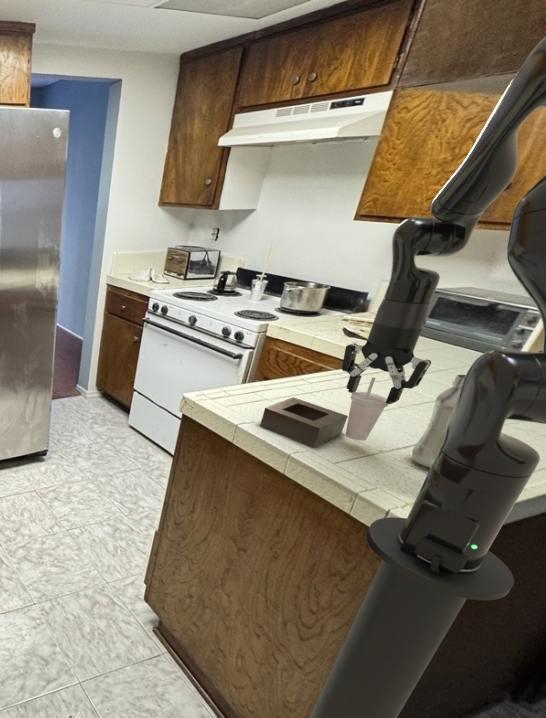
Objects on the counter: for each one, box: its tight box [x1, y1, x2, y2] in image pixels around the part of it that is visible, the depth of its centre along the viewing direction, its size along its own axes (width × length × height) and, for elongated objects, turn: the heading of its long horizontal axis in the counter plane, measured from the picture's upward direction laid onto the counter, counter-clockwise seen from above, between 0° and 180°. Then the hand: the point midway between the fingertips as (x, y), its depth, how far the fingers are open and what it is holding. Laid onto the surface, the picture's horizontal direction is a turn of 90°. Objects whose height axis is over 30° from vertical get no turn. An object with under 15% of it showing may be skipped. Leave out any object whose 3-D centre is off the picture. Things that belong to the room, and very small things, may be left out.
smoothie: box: [345, 377, 389, 442], centre depth 102 cm, size 6×6×14 cm
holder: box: [259, 396, 349, 448], centre depth 112 cm, size 12×12×5 cm
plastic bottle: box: [411, 374, 466, 469], centre depth 95 cm, size 6×7×20 cm
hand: (370, 397), depth 101 cm, fingers closed on smoothie, 6 cm apart
